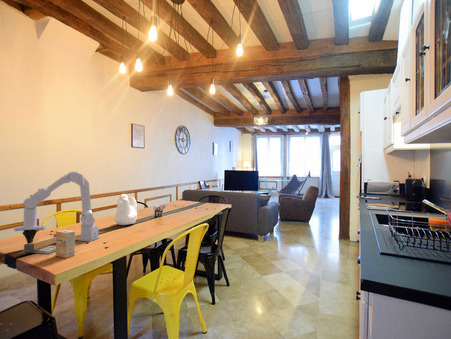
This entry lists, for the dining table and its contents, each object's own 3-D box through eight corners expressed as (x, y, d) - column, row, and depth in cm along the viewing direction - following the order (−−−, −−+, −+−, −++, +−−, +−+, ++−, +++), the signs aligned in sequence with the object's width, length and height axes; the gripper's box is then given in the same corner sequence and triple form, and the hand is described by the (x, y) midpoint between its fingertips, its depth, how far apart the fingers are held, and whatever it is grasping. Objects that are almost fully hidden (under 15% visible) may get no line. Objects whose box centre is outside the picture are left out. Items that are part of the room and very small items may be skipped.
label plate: (68, 247, 138) (68, 245, 138) (48, 254, 127) (48, 253, 127) (42, 244, 142) (42, 243, 142) (21, 251, 130) (21, 249, 130)
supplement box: (55, 256, 124) (55, 231, 124) (64, 253, 129) (64, 228, 129) (66, 258, 121) (66, 232, 121) (75, 255, 126) (75, 230, 126)
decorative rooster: (125, 228, 182) (125, 195, 182) (109, 226, 188) (109, 194, 188) (147, 221, 205) (147, 192, 205) (132, 219, 211) (132, 191, 211)
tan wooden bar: (55, 241, 145) (55, 233, 145) (60, 242, 144) (61, 233, 144) (24, 252, 127) (24, 242, 127) (30, 252, 126) (30, 243, 126)
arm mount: (62, 243, 145) (62, 242, 145) (55, 245, 141) (55, 244, 140) (56, 242, 146) (56, 241, 146) (49, 245, 141) (49, 243, 141)
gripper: (48, 217, 140) (48, 240, 140) (19, 217, 137) (19, 241, 137) (41, 219, 133) (41, 244, 133) (11, 220, 130) (11, 245, 130)
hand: (30, 243), depth 135 cm, fingers closed
